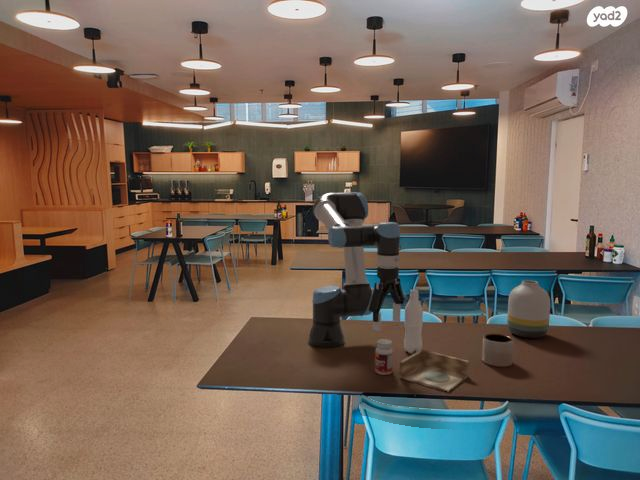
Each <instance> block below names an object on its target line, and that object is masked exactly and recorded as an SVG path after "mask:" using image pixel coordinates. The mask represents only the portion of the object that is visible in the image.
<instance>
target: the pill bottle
mask: <svg viewBox="0 0 640 480" xmlns="http://www.w3.org/2000/svg"><path fill="white" fill-rule="evenodd" d="M392 343H393V342H392V340H390V339H386V338H384V339H383V338H382V339H378V340H377V341H376V346H377V347H376V348H375V358H374V359H375V360H374V362H375V364H374V367H375V368H374V371H375V373H377V374H378V375H381V376H382V375H383V376H387V375H388V376H389V375H391V374H392V373H393V363H394V362H393V360H394V359H393V358H394V355H393V353H394V350H393V348H392V347H393V346H392V345H393V344H392Z"/></svg>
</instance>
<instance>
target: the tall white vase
mask: <svg viewBox="0 0 640 480" xmlns="http://www.w3.org/2000/svg"><path fill="white" fill-rule="evenodd" d="M409 293H410V294H409V300H408V302H407V303H406V305H405V308H404V322H403V324H404V325H403V326H404V329H405V330H404V332H405V335H404V340H403V347H404V350H405V352H408V353H409V354H414V353H416V352H418V351H420V350H421V349H423V340H422V339H423V337H422V330H423V325H424V324H423V315H424V310H423V306H422V304H421V302H420V300H419V297H420V295H419V290H418V289H410V292H409Z"/></svg>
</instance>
